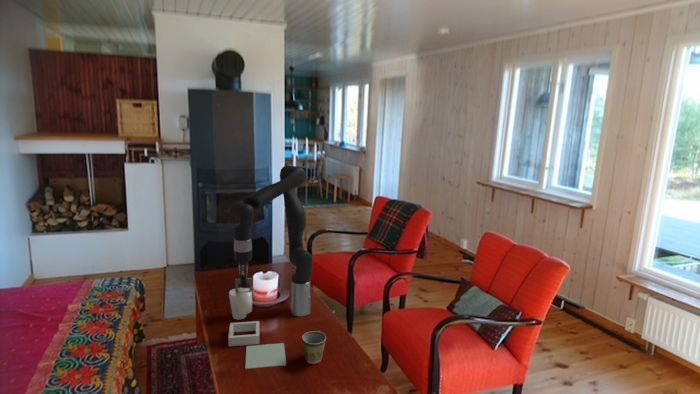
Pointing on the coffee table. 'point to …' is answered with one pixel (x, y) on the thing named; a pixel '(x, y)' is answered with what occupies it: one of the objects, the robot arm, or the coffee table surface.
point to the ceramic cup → (313, 346)
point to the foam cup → (233, 305)
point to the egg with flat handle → (243, 297)
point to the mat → (265, 356)
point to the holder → (243, 339)
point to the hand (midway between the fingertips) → (243, 286)
